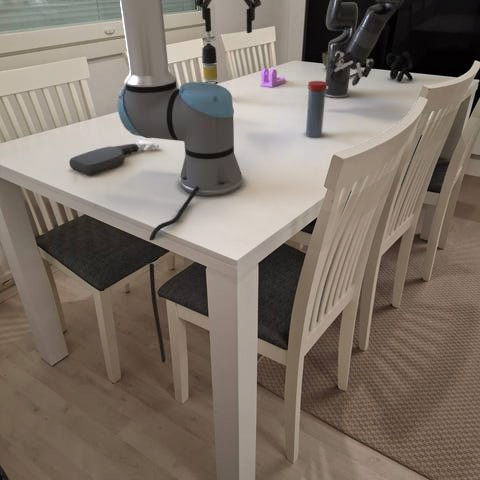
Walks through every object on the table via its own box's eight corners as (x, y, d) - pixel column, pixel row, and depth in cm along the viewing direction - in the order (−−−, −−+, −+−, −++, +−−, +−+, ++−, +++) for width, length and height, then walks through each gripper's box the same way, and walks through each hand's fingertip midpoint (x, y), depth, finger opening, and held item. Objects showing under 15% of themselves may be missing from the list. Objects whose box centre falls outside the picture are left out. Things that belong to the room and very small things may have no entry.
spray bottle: (67, 168, 120) (139, 144, 136) (91, 178, 114) (163, 151, 130) (65, 157, 118) (137, 134, 134) (89, 167, 112) (162, 142, 128)
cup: (319, 70, 220) (320, 53, 216) (324, 67, 226) (325, 50, 221) (333, 71, 217) (335, 54, 213) (338, 69, 222) (340, 51, 218)
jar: (303, 133, 141) (306, 83, 133) (317, 131, 142) (321, 82, 134) (310, 138, 137) (313, 87, 129) (324, 136, 138) (328, 85, 130)
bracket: (271, 87, 193) (272, 70, 189) (261, 85, 196) (261, 68, 192) (287, 81, 202) (288, 65, 198) (277, 79, 205) (277, 63, 201)
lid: (305, 87, 134) (305, 81, 133) (321, 86, 135) (321, 80, 134) (312, 91, 130) (313, 85, 129) (329, 90, 131) (330, 84, 130)
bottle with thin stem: (220, 99, 177) (217, 15, 161) (206, 100, 176) (202, 16, 160) (215, 96, 182) (212, 14, 166) (202, 97, 180) (197, 14, 164)
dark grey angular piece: (400, 92, 202) (376, 71, 205) (417, 76, 202) (392, 56, 205) (405, 81, 191) (380, 59, 194) (423, 64, 191) (397, 42, 194)
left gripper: (272, -51, 127) (270, 31, 138) (192, -49, 134) (197, 29, 145) (264, -51, 121) (263, 34, 132) (181, -49, 128) (187, 32, 139)
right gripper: (381, 39, 150) (358, 79, 162) (342, 28, 147) (322, 71, 159) (385, 52, 145) (361, 92, 158) (345, 41, 142) (324, 83, 155)
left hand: (228, 32), depth 139 cm, fingers open, 13 cm apart
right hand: (342, 81), depth 159 cm, fingers open, 8 cm apart
